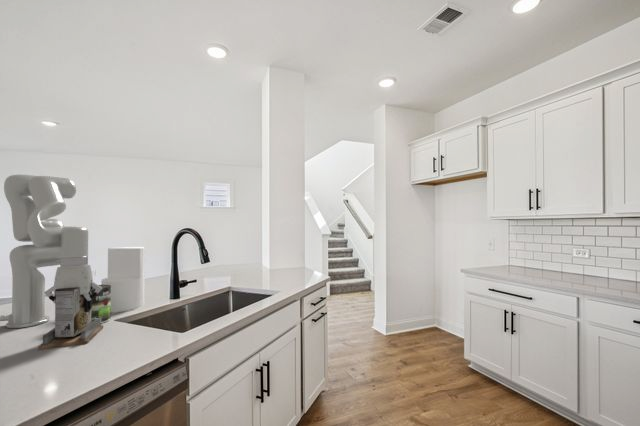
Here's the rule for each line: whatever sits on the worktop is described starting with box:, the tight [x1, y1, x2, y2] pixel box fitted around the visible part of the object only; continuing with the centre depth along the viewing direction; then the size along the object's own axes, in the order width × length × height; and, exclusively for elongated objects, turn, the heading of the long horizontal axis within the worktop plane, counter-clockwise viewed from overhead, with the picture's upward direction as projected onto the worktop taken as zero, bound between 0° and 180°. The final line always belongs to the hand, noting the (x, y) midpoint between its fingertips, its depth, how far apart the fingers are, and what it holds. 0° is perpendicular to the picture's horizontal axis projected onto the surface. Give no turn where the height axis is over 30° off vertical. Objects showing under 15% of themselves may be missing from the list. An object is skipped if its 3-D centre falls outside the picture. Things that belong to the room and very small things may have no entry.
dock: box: [37, 318, 104, 351], centre depth 106 cm, size 13×16×4 cm
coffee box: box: [54, 288, 91, 337], centre depth 106 cm, size 9×6×16 cm
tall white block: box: [100, 246, 146, 313], centre depth 145 cm, size 17×17×28 cm
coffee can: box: [91, 284, 112, 325], centre depth 123 cm, size 10×10×14 cm
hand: (74, 312), depth 106 cm, fingers closed on coffee box, 7 cm apart
